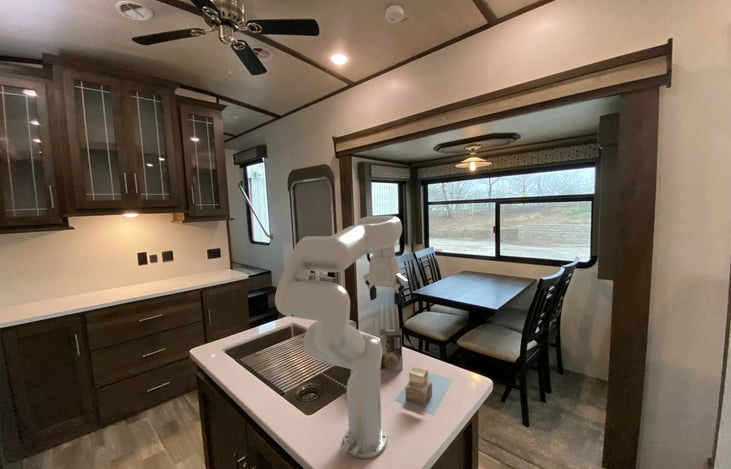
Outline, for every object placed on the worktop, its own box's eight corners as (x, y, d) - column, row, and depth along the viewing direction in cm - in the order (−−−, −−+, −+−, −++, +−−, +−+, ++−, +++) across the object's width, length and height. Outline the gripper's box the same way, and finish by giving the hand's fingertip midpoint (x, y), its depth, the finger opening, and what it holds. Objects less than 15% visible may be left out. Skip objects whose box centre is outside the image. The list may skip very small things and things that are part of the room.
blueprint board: (433, 417, 92) (433, 399, 91) (394, 402, 99) (394, 386, 99) (452, 381, 110) (452, 366, 110) (418, 371, 118) (418, 357, 117)
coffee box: (402, 364, 124) (401, 328, 122) (402, 372, 117) (401, 334, 116) (381, 363, 125) (380, 328, 123) (380, 372, 118) (379, 334, 117)
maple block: (423, 390, 96) (422, 376, 95) (409, 386, 98) (408, 372, 98) (428, 383, 100) (428, 369, 99) (414, 378, 102) (414, 365, 102)
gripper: (357, 252, 99) (358, 300, 101) (401, 255, 90) (402, 308, 91) (369, 250, 105) (370, 295, 107) (411, 252, 96) (412, 302, 97)
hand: (385, 301), depth 99 cm, fingers open, 9 cm apart
